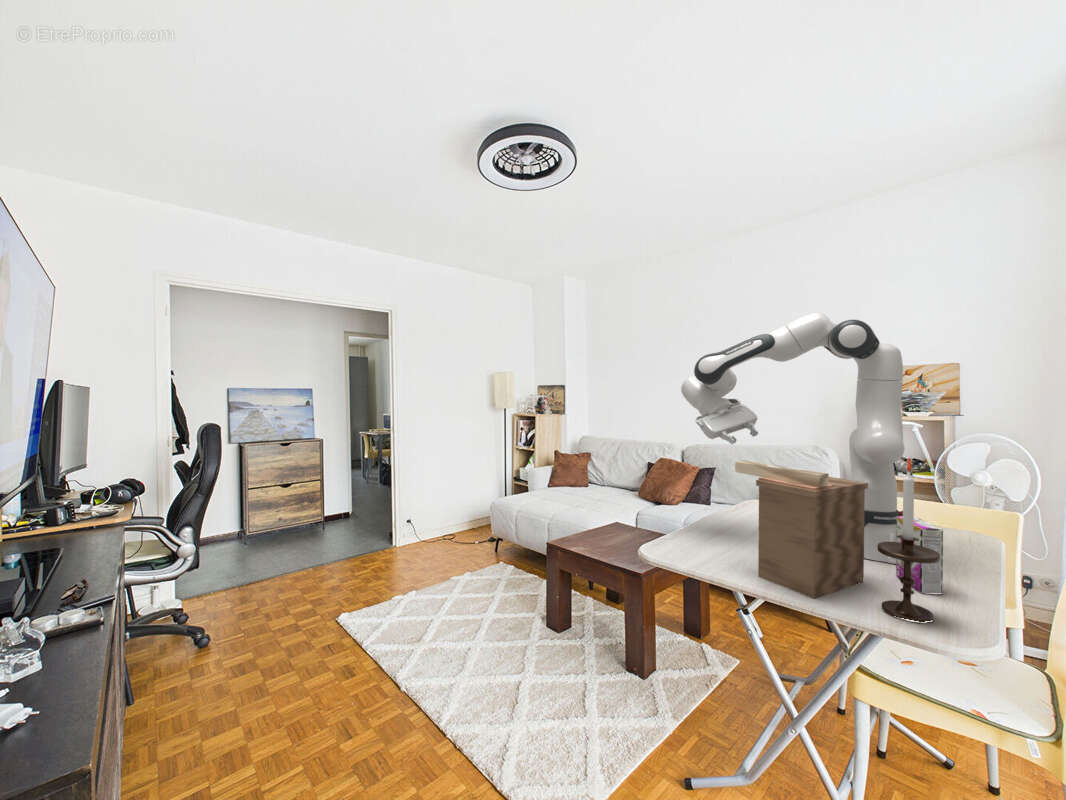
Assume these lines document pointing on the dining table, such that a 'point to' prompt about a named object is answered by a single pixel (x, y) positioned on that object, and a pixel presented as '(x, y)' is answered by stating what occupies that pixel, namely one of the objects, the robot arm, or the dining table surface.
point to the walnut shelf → (811, 535)
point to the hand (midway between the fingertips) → (745, 438)
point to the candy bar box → (924, 573)
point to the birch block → (783, 473)
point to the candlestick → (908, 558)
